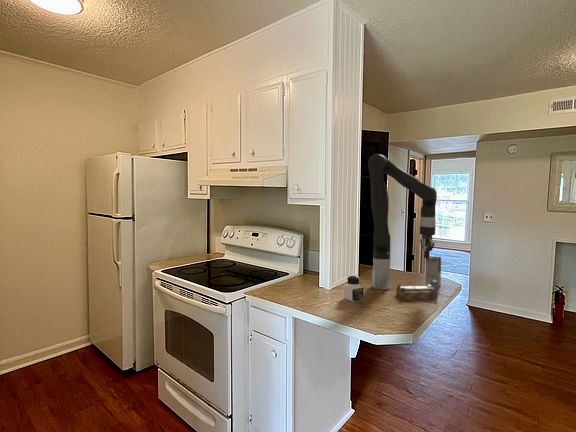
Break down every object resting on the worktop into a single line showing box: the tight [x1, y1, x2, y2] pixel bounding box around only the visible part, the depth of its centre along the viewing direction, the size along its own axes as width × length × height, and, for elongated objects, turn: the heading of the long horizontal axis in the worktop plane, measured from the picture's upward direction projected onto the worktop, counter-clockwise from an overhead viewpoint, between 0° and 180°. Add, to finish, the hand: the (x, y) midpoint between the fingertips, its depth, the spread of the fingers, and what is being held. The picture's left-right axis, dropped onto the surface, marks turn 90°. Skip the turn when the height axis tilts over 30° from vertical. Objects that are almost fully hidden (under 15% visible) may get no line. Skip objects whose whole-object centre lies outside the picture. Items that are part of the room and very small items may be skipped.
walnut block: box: [395, 284, 436, 301], centre depth 168 cm, size 17×9×6 cm, turn 91°
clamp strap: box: [399, 285, 434, 290], centre depth 168 cm, size 17×4×2 cm, turn 91°
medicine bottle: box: [343, 275, 364, 303], centre depth 165 cm, size 7×7×12 cm
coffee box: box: [425, 255, 442, 287], centre depth 187 cm, size 9×6×16 cm
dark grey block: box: [431, 280, 439, 298], centre depth 168 cm, size 2×3×8 cm
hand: (426, 258), depth 170 cm, fingers closed
